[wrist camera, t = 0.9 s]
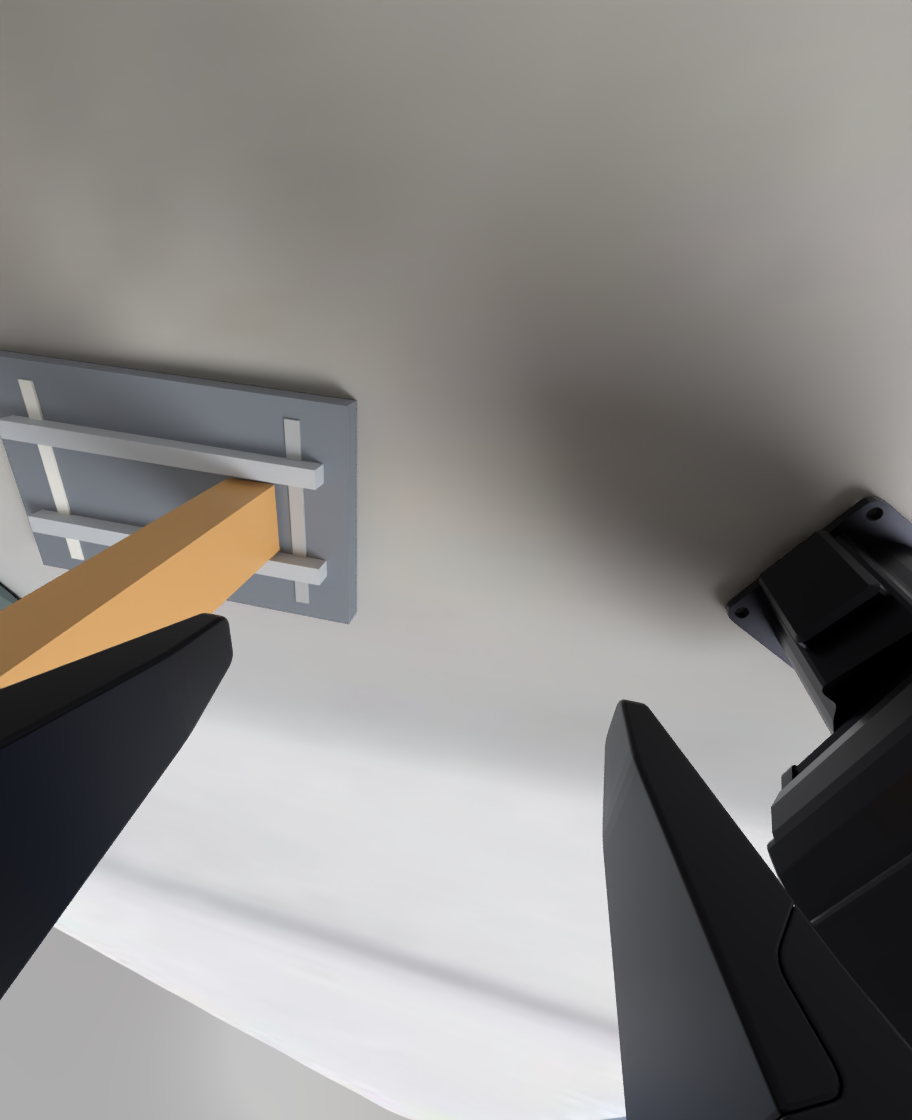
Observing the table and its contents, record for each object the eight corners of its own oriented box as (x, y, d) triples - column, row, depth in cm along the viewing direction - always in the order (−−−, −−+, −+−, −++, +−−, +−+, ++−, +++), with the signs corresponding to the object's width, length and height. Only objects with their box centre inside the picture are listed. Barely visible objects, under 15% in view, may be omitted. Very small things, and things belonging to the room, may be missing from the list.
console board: (356, 400, 20) (338, 410, 19) (356, 612, 25) (342, 634, 24) (-4, 349, 22) (-48, 355, 21) (60, 555, 27) (29, 572, 26)
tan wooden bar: (276, 483, 21) (-55, 714, 10) (281, 552, 23) (0, 820, 12) (226, 474, 22) (-153, 690, 10) (234, 544, 23) (-85, 797, 12)
